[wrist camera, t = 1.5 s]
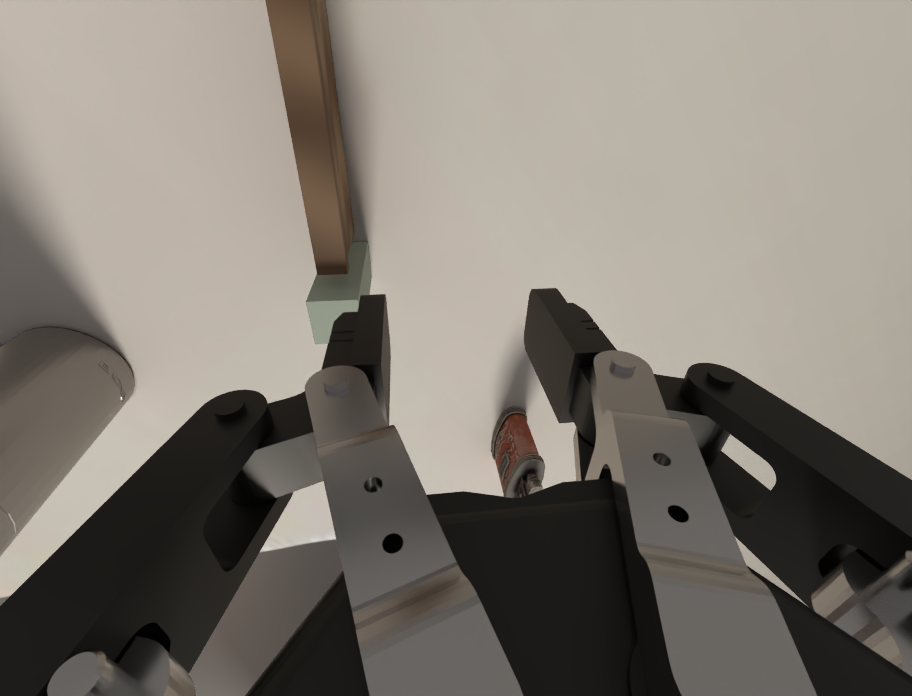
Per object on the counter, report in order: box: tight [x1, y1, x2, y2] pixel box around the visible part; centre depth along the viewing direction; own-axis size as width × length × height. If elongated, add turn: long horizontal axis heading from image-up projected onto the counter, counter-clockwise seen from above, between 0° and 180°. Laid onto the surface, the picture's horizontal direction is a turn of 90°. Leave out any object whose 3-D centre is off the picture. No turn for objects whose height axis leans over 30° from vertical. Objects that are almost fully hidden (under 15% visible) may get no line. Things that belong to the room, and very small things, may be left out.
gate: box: [266, 0, 354, 275], centre depth 23 cm, size 17×2×8 cm, turn 179°
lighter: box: [491, 407, 545, 498], centre depth 43 cm, size 8×3×10 cm, turn 170°
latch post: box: [306, 242, 372, 344], centre depth 29 cm, size 3×3×10 cm
